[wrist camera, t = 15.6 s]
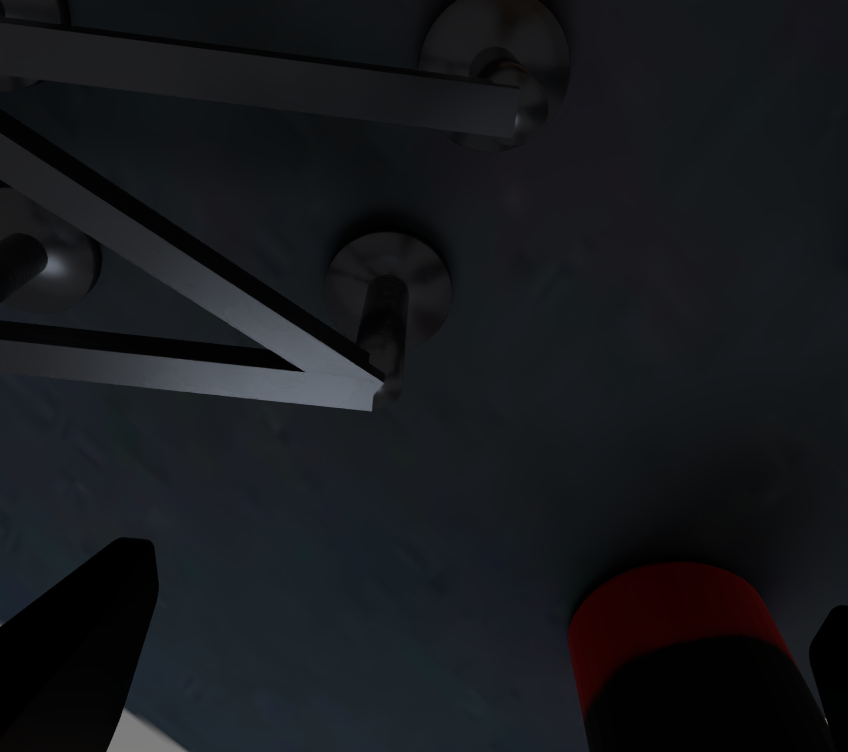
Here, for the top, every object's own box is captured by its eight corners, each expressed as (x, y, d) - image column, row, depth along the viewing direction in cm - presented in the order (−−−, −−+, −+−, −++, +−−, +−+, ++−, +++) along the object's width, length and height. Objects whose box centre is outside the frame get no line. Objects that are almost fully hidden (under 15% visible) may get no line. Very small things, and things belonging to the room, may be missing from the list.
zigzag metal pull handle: (581, -3, 16) (649, 9, 11) (507, 355, 21) (531, 478, 16) (-107, -96, 15) (-378, -129, 10) (-16, 297, 20) (-168, 407, 15)
